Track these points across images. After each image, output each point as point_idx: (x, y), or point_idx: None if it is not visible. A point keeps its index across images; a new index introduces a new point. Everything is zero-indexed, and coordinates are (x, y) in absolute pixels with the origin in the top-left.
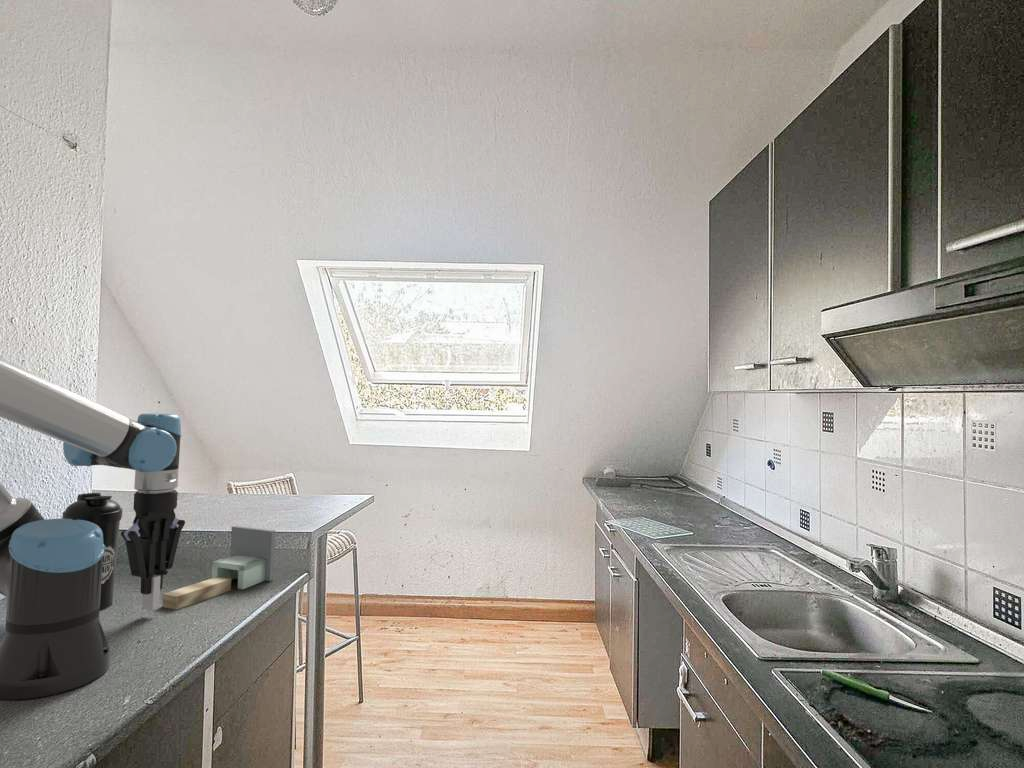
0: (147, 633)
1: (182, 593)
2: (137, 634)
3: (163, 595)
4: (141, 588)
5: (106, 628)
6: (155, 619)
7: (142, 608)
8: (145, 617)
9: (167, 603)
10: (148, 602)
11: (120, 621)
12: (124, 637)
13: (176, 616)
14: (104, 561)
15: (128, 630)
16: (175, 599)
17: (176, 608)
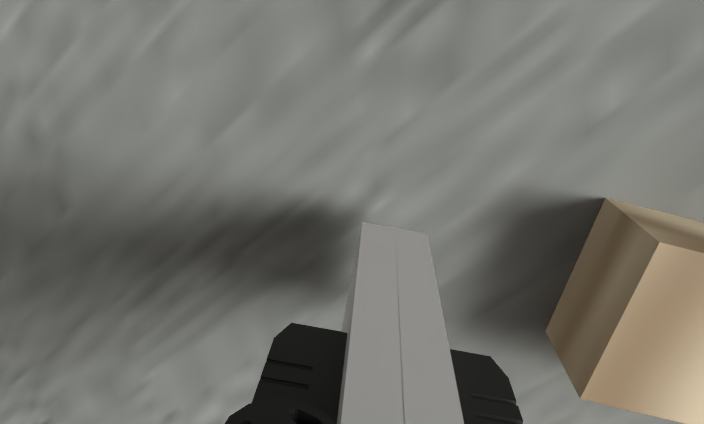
0: (132, 410)
1: (677, 391)
2: (99, 372)
3: (649, 241)
4: (265, 372)
5: (97, 123)
6: (338, 319)
7: (362, 226)
8: (358, 233)
9: (597, 263)
10: (346, 315)
11: (240, 116)
12: (36, 337)
13: None
14: None
15: (126, 287)
16: (576, 368)
17: (551, 335)
